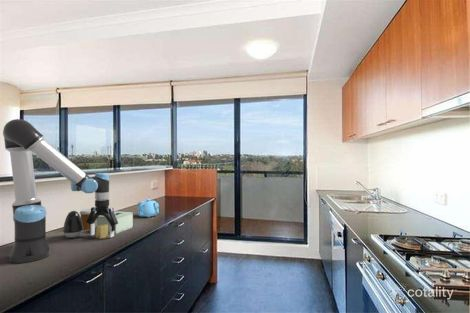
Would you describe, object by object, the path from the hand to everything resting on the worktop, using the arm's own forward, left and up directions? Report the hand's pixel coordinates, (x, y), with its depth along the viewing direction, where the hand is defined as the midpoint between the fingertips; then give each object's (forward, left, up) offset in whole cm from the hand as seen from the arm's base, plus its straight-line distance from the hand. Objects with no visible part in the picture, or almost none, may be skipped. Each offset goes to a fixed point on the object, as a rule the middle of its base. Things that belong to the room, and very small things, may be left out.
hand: (102, 235), depth 160 cm
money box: (+16, +4, -1) cm, 17 cm away
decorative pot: (+58, +8, -1) cm, 59 cm away
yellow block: (0, 0, -1) cm, 1 cm away
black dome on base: (-4, +17, -1) cm, 17 cm away
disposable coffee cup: (+14, +24, -1) cm, 28 cm away
